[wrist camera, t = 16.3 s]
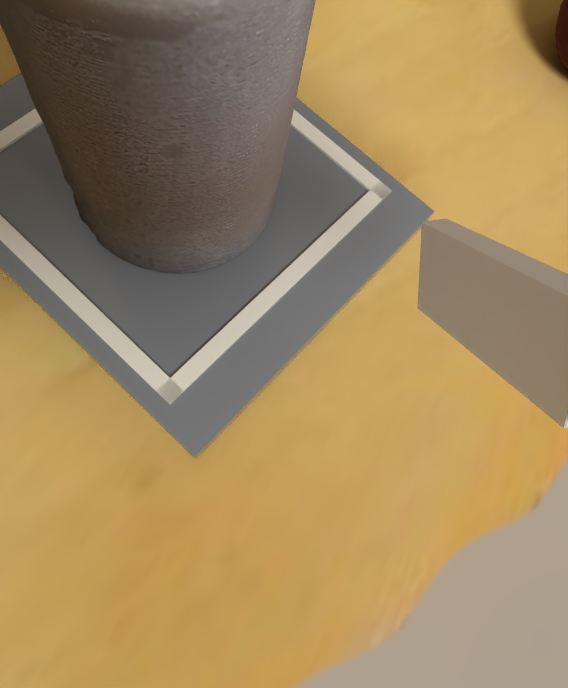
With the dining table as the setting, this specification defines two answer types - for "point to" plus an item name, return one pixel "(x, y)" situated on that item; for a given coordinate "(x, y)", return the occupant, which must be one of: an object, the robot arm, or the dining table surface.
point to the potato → (562, 33)
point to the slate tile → (201, 272)
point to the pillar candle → (165, 116)
